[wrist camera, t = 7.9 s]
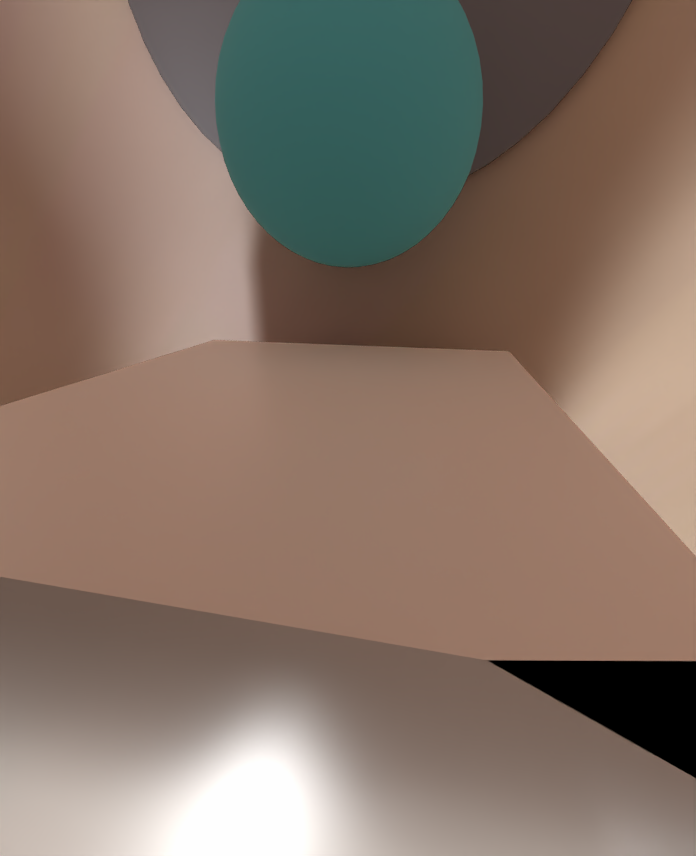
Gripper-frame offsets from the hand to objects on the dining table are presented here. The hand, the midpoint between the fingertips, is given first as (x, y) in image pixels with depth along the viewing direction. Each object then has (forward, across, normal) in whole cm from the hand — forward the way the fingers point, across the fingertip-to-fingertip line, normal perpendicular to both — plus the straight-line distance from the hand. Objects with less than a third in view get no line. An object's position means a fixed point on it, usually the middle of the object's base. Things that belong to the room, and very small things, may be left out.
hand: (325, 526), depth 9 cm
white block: (+3, 0, 0) cm, 3 cm away
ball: (+2, 0, -8) cm, 8 cm away
